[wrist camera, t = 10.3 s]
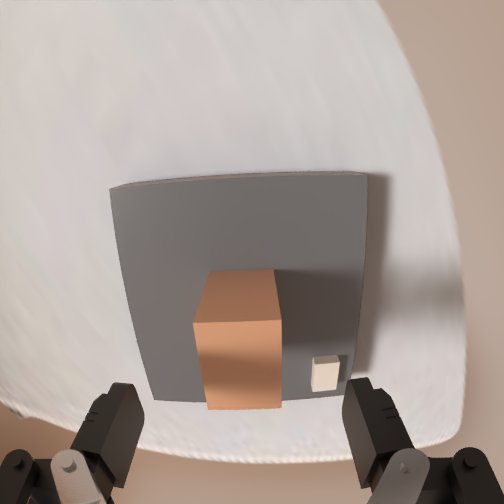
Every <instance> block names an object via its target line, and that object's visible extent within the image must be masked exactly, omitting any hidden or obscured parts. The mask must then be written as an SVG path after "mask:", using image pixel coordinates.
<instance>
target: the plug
mask: <svg viewBox="0 0 504 504" xmlns="http://www.w3.org/2000/svg"><path fill="white" fill-rule="evenodd" d="M193 328H194V334H195V340H196V346H197V352H198V358H199V364H200V369H201V375H202V380H203V386H204V391H205V396H206V401H207V406H208V410H245V409H272V408H281V406H282V320H281V313H280V307H279V301H278V295H277V289H276V282H275V276H274V270H273V269H267V270H245V271H221V272H209V275H208V278H207V281H206V284H205V287H204V290H203V293H202V296H201V299H200V302H199V305H198V308H197V311H196V314H195V317H194V320H193Z"/></svg>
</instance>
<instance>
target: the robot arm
mask: <svg viewBox="0 0 504 504" xmlns="http://www.w3.org/2000/svg"><path fill="white" fill-rule="evenodd" d="M342 419H343V423H344V427H345V431H346V434H347V438H348V441H349V445H350V448H351V452H352V456H353V459H354V463H355V466H356V470H357V474H358V478H359V482H360V485H361V488H362V489H363V488H367V487H371V491H372V496H371V497H370V499H369V501H368V503H367V504H504V494H503V492H502V490H501V488H500V485H499V483H498V481H497V479H496V477H495V474H494V472H493V470H492V468H491V466H490V464H489V462H488V460H487V457H486V456H485V454H484V453H483V452H482V451H481V450H479V449H477V448H473V447H468V448H463V449H461V450H459V451H458V452H457V453H456V454H455V455H454V457H450V458H430V457H427V456H426V455H425V454H424V453H423V452H421V451H420V450H417V449H415V448H414V446H413V444H412V442H411V439H410V437H409V435H408V433H407V430H406V428H405V426H404V424H403V422H402V419H401V417H399V413H398V411H397V409H396V408H395V404H394V402H393V400H392V398H391V396H390V395H389V394H387V393H386V392H385V391H384V390H383V389H382V388H380V389H373V387H372V385H371V382H370V380H369V378H368V377H365V378H357V379H350V380H348V381H347V383H346V389H345V395H344V400H343V405H342ZM143 425H144V411H143V408H142V405H141V402H140V400H139V397H138V394H137V392H136V389H135V386H134V385H133V384H127V383H116V382H115V383H113V384H112V386H111V388H110V390H109V392H108V394H102V395H100V396H99V397H98V398H97V399H96V400H95V401H94V402H93V404H92V406H91V408H90V410H89V413H87V415H86V417H85V421H83V423H82V425H81V427H80V429H79V431H78V433H77V435H76V438H75V439H74V441H73V444H72V445H71V447H70V449H67V450H63V451H60V452H59V453H57V454H56V455H55V456H54V457H53V459H33V458H32V457H31V455H30V454H29V453H28V452H27V451H25V450H22V449H17V450H13V451H11V452H10V453H8V454H7V455H6V457H5V458H4V460H3V462H2V464H1V466H0V504H27V502H28V499H29V497H30V499H29V502H28V504H116V501H115V499H114V497H113V496H112V494H111V491H112V489H113V486H114V487H119V488H124V485H125V481H126V478H127V475H128V472H129V468H130V465H131V462H132V459H133V456H134V453H135V449H136V446H137V443H138V440H139V437H140V434H141V431H142V428H143Z"/></svg>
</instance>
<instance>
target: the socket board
mask: <svg viewBox="0 0 504 504" xmlns="http://www.w3.org/2000/svg"><path fill="white" fill-rule="evenodd" d="M109 190H110V199H111V207H112V215H113V222H114V229H115V236H116V242H117V248H118V254H119V260H120V265H121V271H122V276H123V281H124V286H125V291H126V296H127V300H128V305H129V309H130V314H131V318H132V322H133V326H134V331H135V335H136V339H137V342H138V346H139V350H140V354H141V357H142V361H143V364H144V368H145V371H146V375H147V378H148V382H149V385H150V388H151V391H152V395H153V398H154V400H163V401H181V402H207V401H206V396H205V391H204V386H203V380H202V375H201V369H200V364H199V358H198V352H197V346H196V340H195V334H194V328H193V320H194V317H195V314H196V311H197V308H198V305H199V302H200V299H201V296H202V293H203V290H204V287H205V284H206V281H207V278H208V275H209V272H221V271H245V270H267V269H273V270H274V276H275V282H276V289H277V295H278V301H279V307H280V313H281V320H282V401H284V400H298V399H310V398H320V397H330V396H338V395H345V389H346V383H347V381H348V380H350V379H351V373H352V367H353V361H354V354H355V347H356V340H357V333H358V325H359V316H360V307H361V298H362V288H363V276H364V263H365V248H366V230H367V200H368V175H365V174H361V173H357V172H276V173H251V174H232V175H216V176H201V177H189V178H177V179H166V180H156V181H146V182H137V183H129V184H124V185H121V186H117V187H114V188H111V189H109Z"/></svg>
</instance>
